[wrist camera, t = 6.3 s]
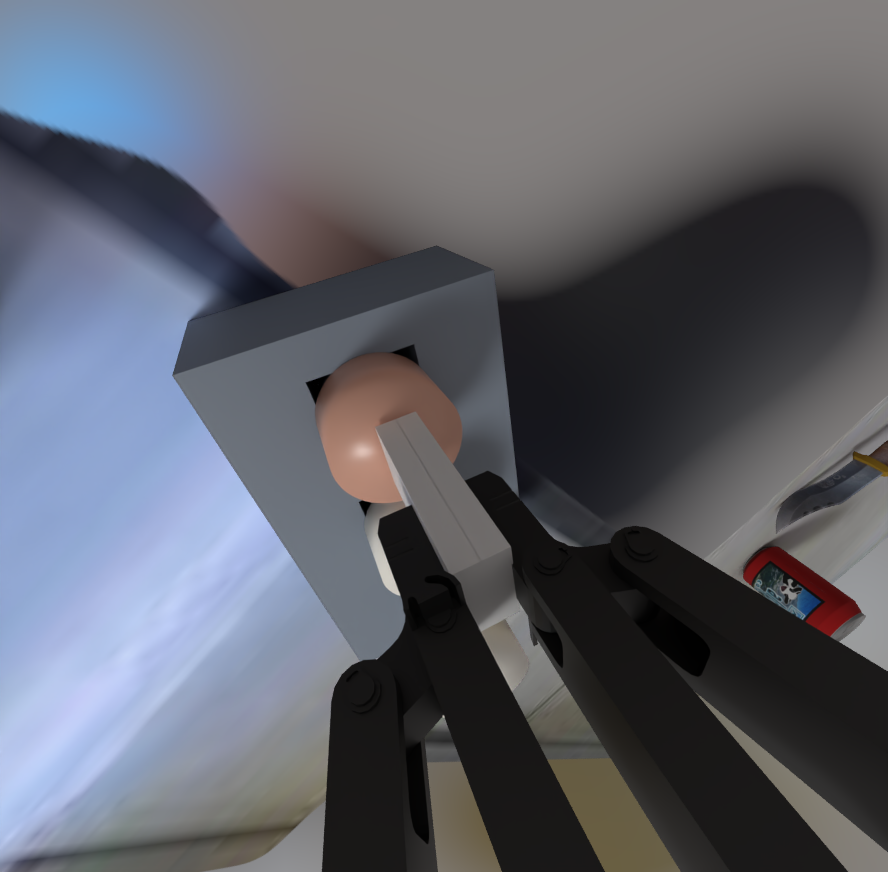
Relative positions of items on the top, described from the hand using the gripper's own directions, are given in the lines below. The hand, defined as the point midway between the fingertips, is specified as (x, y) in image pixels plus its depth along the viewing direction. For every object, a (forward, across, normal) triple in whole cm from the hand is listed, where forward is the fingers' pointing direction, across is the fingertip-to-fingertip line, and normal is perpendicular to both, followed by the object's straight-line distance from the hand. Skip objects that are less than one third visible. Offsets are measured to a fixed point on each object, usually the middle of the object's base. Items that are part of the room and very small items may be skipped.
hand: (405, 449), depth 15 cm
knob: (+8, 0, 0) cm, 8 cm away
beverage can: (+10, +46, -50) cm, 69 cm away
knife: (+10, +54, -36) cm, 65 cm away
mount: (+9, 0, -6) cm, 11 cm away
